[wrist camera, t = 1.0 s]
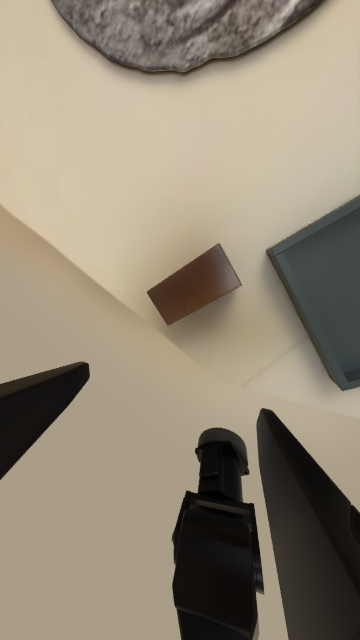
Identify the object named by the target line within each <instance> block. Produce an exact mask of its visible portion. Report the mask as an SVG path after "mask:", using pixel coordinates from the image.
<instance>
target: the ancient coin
mask: <svg viewBox="0 0 360 640" xmlns="http://www.w3.org/2000/svg"><path fill="white" fill-rule="evenodd" d="M320 1H321V0H52V2H53V4H54V5H55V7H56V9H57V11H58V12H59V13H60V15H61V16H62V17H63V18H64V19H65V21H66V22H67V24H69V25H71V26H72V27H73V29H74V30H75V32H76V33H77V34H78V35H79V36H81V37H82V38H83V39H85V40H87V41H88V42H89V43H91V44H92V45H93V46H94V47H96V48H97V49H98V50H99V51H100V52H102V53H103V54H104V55H105V56H106V57H108V58H109V59H111V60H114V61H116V62H118V63H120V64H123V65H126V66H129V67H137V68H139V69H141V70H145V71H150V72H151V71H166V70H176V71H178V72H187V71H189V70H190V69H192V68H195V67H197V66H200V65H201V64H203V63H205V62H206V61H208V60H210V59H211V58H227V57H234V56H238V55H240V54H242V53H244V52H246V51H248V50H250V49H252V48H254V47H256V46H258V45H260V44H262V43H264V42H266V41H267V40H269V39H270V38H271V37H273V36H274V35H276V34H277V33H278V32H280V31H281V30H283V29H284V28H286V27H288V26H290V25H292V24H293V23H294V22H296V21H297V20H298V19H300V18H301V17H302V16H304V15H305V14H306V13H307V12H309V11H310V10H311V9H313V8H314V7H315V6H316V5H317V4H318V3H319V2H320Z"/></svg>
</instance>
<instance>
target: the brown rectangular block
mask: <svg viewBox="0 0 360 640" xmlns="http://www.w3.org/2000/svg"><path fill="white" fill-rule="evenodd" d="M241 285H242V284H241V282H240V280H239V279H238V277H237V275H236V273H235V271H234V269H233V267H232V266H231V264H230V262H229V260H228V258H227V256H226V255H225V253H224V251H223V249H222V247H221V245H220V244H219V243H218V244H217V245H215V246H214V247H212V248H211V249H209V250H208V251H206V252H205V253H203V254H202V255H200V256H199V257H197V258H196V259H195V260H193V261H192V262H190V263H189V264H187V265H186V266H184V267H183V268H181V269H180V270H178V271H177V272H175V273H174V274H172V275H171V276H169V277H168V278H166V279H165V280H163V281H162V282H160V283H159V284H157V285H156V286H154V287H153V288H151V289H150V290H148V291H147V294H148V295H149V297H150V298H151V300H152V302H153V303H154V305H155V306H156V308H157V310H158V311H159V313H160V314H161V316H162V318H163V319H164V321H165V322H166V324H167V325H170V324H172V323H174V322H176V321H178V320H179V319H181V318H183V317H185V316H187V315H188V314H190V313H192V312H194V311H196V310H198V309H199V308H201V307H203V306H205V305H207V304H209V303H210V302H212V301H214V300H216V299H218V298H219V297H221V296H223V295H225V294H227V293H229V292H230V291H232V290H234V289H236V288H238V287H240V286H241Z"/></svg>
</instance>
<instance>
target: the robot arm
mask: <svg viewBox="0 0 360 640" xmlns="http://www.w3.org/2000/svg"><path fill="white" fill-rule="evenodd" d="M89 377H90V372H89V364H88V363H85V362H77V363H74V364H70V365H67V366H63V367H59V368H56V369H52V370H49V371H45V372H41V373H38V374H34V375H31V376H27V377H24V378H20V379H17V380H13V381H9V382H6V383H2V384H0V480H1V479H2V478H3V477H4V475H5V474H6V473H7V472H8V471H9V470H10V469H11V468H12V467H13V466H14V464H15V463H16V462H17V461H18V460H19V459H20V458H21V457H22V456H23V455H24V454H25V453H26V451H27V450H28V449H29V448H30V447H31V446H32V445H33V444H34V443H35V442H36V440H37V439H38V438H39V437H40V436H41V435H42V434H43V433H44V432H45V431H46V430H47V428H48V427H49V426H50V425H51V424H52V423H53V422H54V421H55V420H56V419H57V417H58V416H59V415H60V414H61V413H62V412H63V411H64V410H65V409H66V408H67V407H68V405H69V404H70V403H71V402H72V401H73V399H74V398H75V397H76V395H77V394H78V393H79V391H80V390H81V389H82V387H83V386H84V385H85V384H86V382H87V381H88V379H89ZM257 441H258V455H259V456H258V457H259V467H260V474H261V480H262V485H263V491H264V497H265V503H266V509H267V515H268V521H269V527H270V532H271V538H272V543H273V550H274V556H275V562H276V567H277V574H278V579H279V585H280V590H281V597H282V603H283V608H284V614H285V620H286V626H287V632H288V638H289V640H360V512H359V511H358V510H357V509H356V508H355V507H354V506H353V505H351V502H350V501H349V500H348V499H347V497H346V496H345V495H344V494H343V493H342V491H341V490H340V489H339V488H338V487H337V486H336V485H335V483H334V482H333V481H332V480H331V479H330V477H328V475H327V474H326V473H325V472H324V471H323V469H322V468H321V467H320V466H319V465H318V464H317V462H316V461H315V460H314V459H313V458H312V457H311V455H310V454H309V453H308V452H307V451H306V450H305V448H304V447H303V446H302V445H301V444H300V442H299V441H298V440H297V439H296V438H295V437H294V435H293V434H292V433H291V432H290V431H289V430H288V428H287V427H286V426H285V425H284V424H283V423H282V422H281V420H280V419H279V418H278V417H277V416H276V415H275V413H274V412H273V411H272V410H269V409H265V408H262V409H261V411H260V414H259V417H258V420H257ZM195 453H196V455H197V456H198V458H199V459H200V461H201V464H200V472H199V476H200V478H199V486H198V493H193V492H191V491H186V494H185V497H184V499H183V502H182V506H181V509H180V513H179V516H178V520H177V523H176V527H175V530H174V532H173V535H172V542H173V545H174V564H175V565H176V568H175V573H174V578H173V584H172V588H173V597H174V604H175V607H176V608H177V615H178V621H179V627H180V633H181V640H258V636H259V623H258V612H257V601H256V592H258V593H260V594H263V595H264V585H263V576H262V566H261V557H260V549H259V541H258V532H257V525H256V516H255V509H254V504H253V503H249V504H248V503H243V497H242V483H241V476H244V475H249V469H248V467H247V466H246V464H245V463H244V461H243V460H242V458H241V456H240V455H239V453H238V452H237V450H236V449H235V447H234V445H233V444H232V443H231V442H230V441H226V442H221V443H217V444H212V445H207V446H202V447H198V448H196V449H195Z"/></svg>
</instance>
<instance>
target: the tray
mask: <svg viewBox="0 0 360 640" xmlns="http://www.w3.org/2000/svg"><path fill="white" fill-rule="evenodd" d="M267 253H268V255H269V257H270V259H271V261H272V263H273V265H274V267H275V269H276V271H277V273H278V275H279V277H280V279H281V281H282V283H283V284H284V286H285V288H286V290H287V292H288V294H289V296H290V298H291V300H292V302H293V304H294V306H295V308H296V310H297V312H298V314H299V316H300V318H301V320H302V322H303V324H304V326H305V328H306V330H307V332H308V334H309V336H310V338H311V340H312V342H313V344H314V346H315V348H316V350H317V352H318V354H319V356H320V358H321V360H322V362H323V364H324V366H325V368H326V370H327V372H328V374H329V376H330V378H331V379H332V380H333V382H334V383H335V384H336V385H337V386H338V387H339V388H340V389H341V390H342V391H345V390H349V389H353V388H356V387H360V195H359V196H357V197H355V198H354V199H352V200H350V201H349V202H347V203H345V204H344V205H342V206H340V207H338V208H337V209H335V210H333V211H332V212H330V213H328V214H327V215H325V216H323V217H322V218H320V219H318V220H317V221H315V222H313V223H311V224H310V225H308V226H306V227H305V228H303V229H301V230H300V231H298V232H296V233H295V234H293V235H291V236H290V237H288V238H286V239H284V240H283V241H281V242H279V243H278V244H276V245H274V246H273V247H271V248H269V249H268V250H267Z"/></svg>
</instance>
